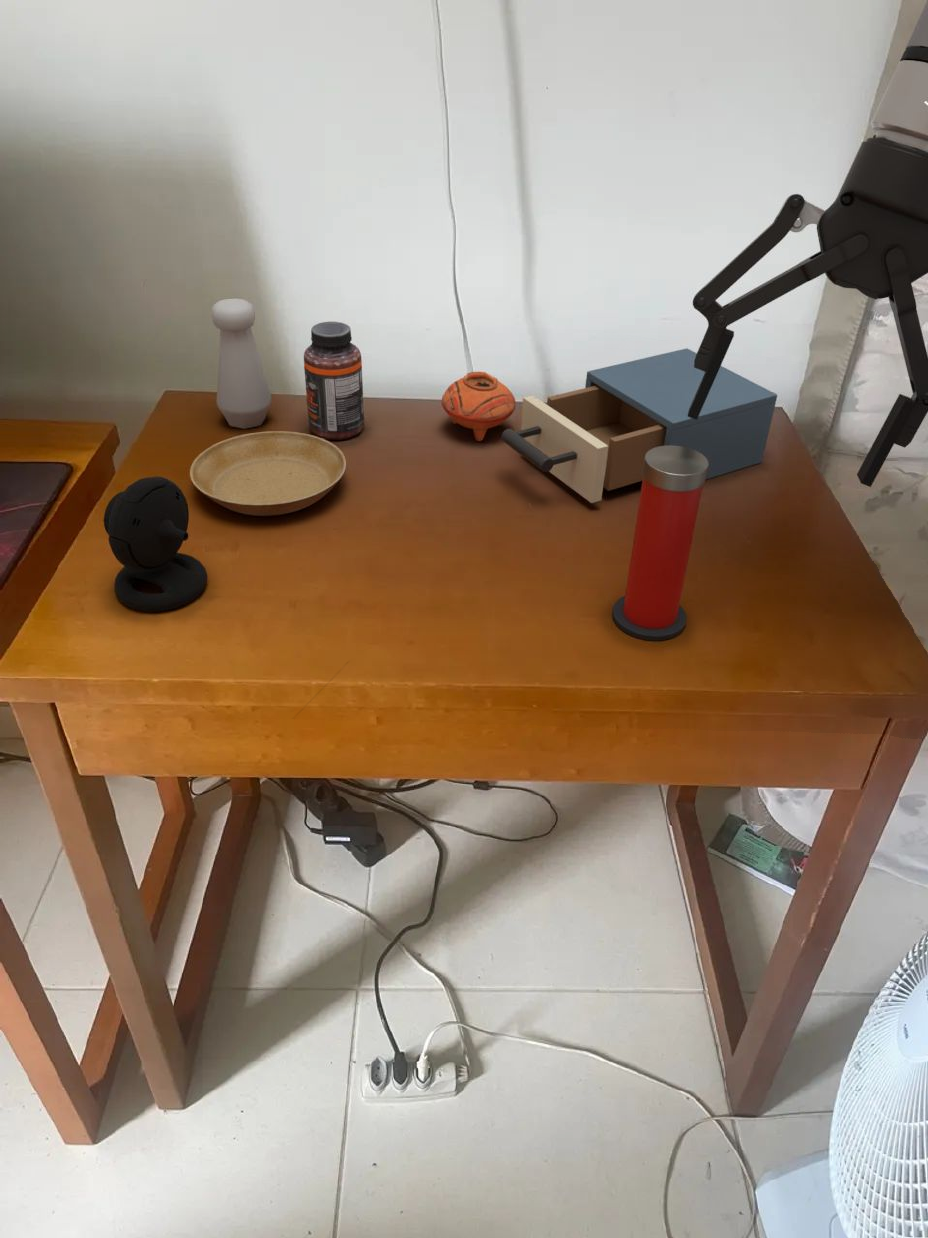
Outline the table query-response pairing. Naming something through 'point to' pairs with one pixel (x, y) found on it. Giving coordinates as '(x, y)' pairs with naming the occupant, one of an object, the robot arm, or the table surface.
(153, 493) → the webcam
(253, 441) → the plant saucer
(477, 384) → the pot
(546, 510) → the table surface
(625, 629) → the coaster
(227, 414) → the salt shaker
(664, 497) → the disc
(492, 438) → the table surface
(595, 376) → the cabinet
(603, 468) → the drawer
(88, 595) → the table surface
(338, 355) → the supplement bottle
